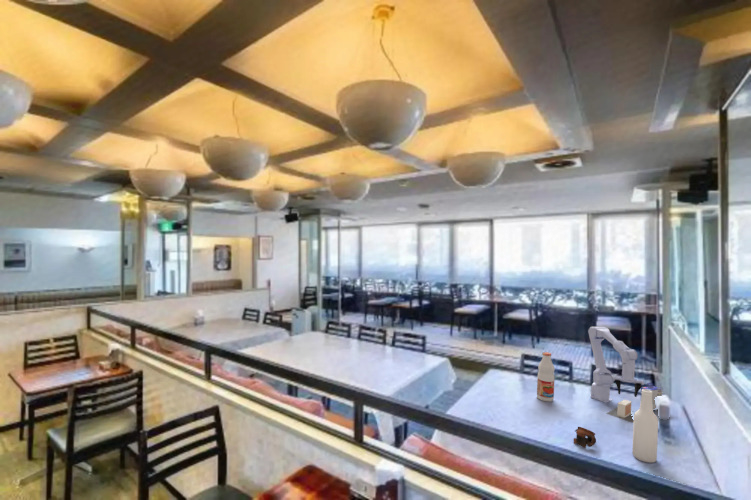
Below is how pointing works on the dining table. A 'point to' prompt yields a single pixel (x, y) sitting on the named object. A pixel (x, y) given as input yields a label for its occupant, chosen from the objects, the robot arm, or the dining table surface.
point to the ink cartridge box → (655, 391)
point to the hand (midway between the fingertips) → (627, 394)
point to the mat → (614, 413)
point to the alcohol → (645, 430)
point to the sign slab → (624, 408)
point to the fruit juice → (545, 378)
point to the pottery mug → (584, 437)
